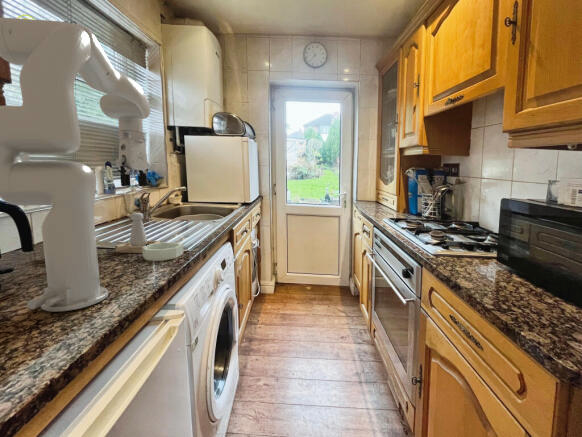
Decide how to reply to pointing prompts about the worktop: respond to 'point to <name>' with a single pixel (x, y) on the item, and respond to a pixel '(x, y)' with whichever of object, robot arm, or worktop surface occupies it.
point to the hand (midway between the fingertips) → (134, 185)
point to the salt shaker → (137, 231)
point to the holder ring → (162, 251)
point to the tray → (129, 249)
